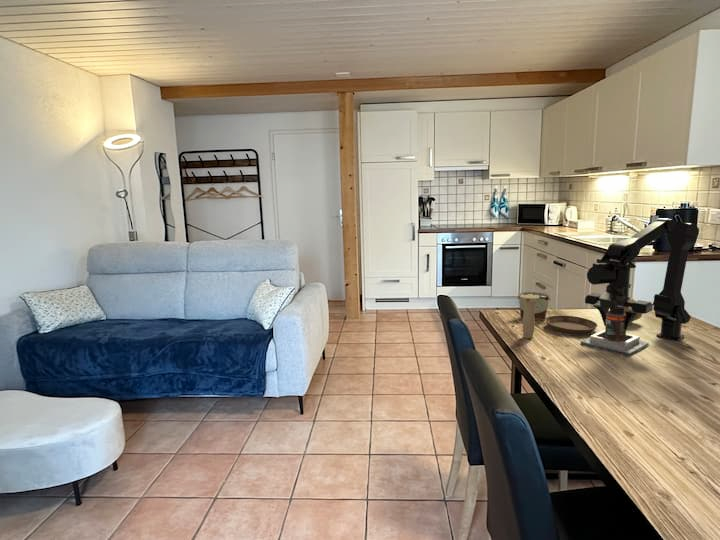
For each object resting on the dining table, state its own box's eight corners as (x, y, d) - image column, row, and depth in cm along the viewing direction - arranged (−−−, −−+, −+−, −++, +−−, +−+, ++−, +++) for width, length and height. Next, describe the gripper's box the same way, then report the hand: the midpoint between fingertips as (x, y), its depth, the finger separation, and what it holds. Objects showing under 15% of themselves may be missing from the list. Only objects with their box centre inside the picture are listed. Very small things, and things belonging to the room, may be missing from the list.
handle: (536, 340, 151) (537, 298, 149) (517, 337, 155) (518, 297, 152) (538, 336, 155) (540, 296, 153) (520, 334, 159) (521, 294, 156)
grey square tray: (601, 334, 156) (601, 326, 155) (648, 345, 144) (649, 336, 143) (580, 344, 147) (581, 335, 146) (628, 356, 135) (629, 347, 134)
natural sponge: (607, 319, 173) (609, 295, 171) (628, 318, 174) (630, 294, 172) (623, 326, 164) (625, 300, 162) (645, 325, 165) (647, 299, 163)
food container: (548, 315, 180) (549, 292, 179) (549, 320, 175) (550, 295, 173) (516, 313, 184) (517, 291, 183) (516, 317, 179) (517, 294, 177)
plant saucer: (598, 326, 166) (599, 318, 165) (594, 340, 151) (595, 331, 151) (549, 320, 175) (549, 313, 175) (540, 332, 160) (541, 324, 160)
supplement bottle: (627, 339, 145) (629, 306, 143) (622, 343, 141) (625, 310, 139) (607, 335, 149) (609, 303, 147) (602, 340, 145) (604, 307, 143)
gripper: (578, 281, 144) (575, 326, 147) (640, 290, 129) (636, 340, 132) (594, 276, 151) (591, 320, 153) (655, 284, 136) (651, 332, 139)
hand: (615, 327), depth 144 cm, fingers closed on supplement bottle, 6 cm apart
